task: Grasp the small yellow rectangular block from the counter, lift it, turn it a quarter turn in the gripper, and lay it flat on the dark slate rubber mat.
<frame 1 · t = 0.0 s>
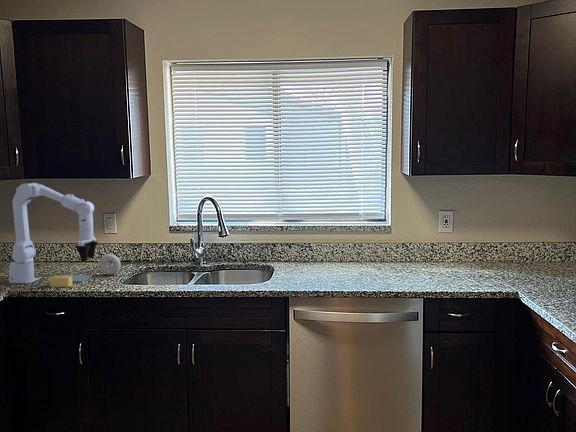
hand: (87, 259, 227), 10 cm above the counter, tool pointing down, fingers open, 7 cm apart
yellow rectangular block: (61, 286, 221), on the counter
mat: (71, 279, 232), on the counter
donut: (110, 275, 242), on the counter
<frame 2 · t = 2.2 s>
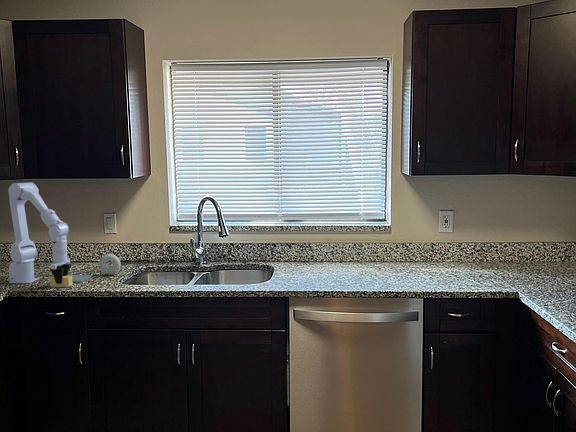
hand: (61, 282, 221), 1 cm above the counter, tool pointing down, fingers closed on yellow rectangular block, 4 cm apart
yellow rectangular block: (61, 285, 221), on the counter, touching gripper
everything else where it was.
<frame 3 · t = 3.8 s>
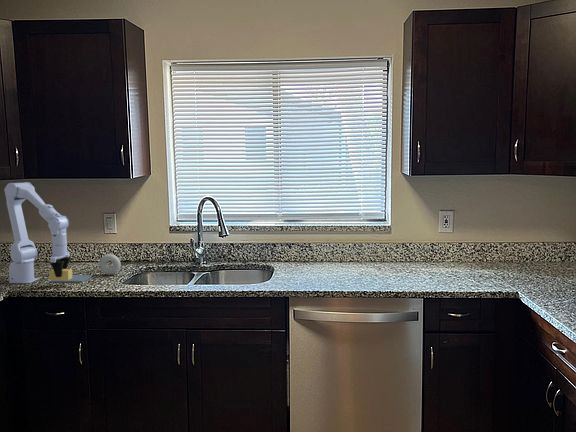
hand: (60, 275, 221), 4 cm above the counter, tool pointing down, fingers closed on yellow rectangular block, 4 cm apart
yellow rectangular block: (61, 279, 221), point 3 cm above the counter, touching gripper
everything else where it was.
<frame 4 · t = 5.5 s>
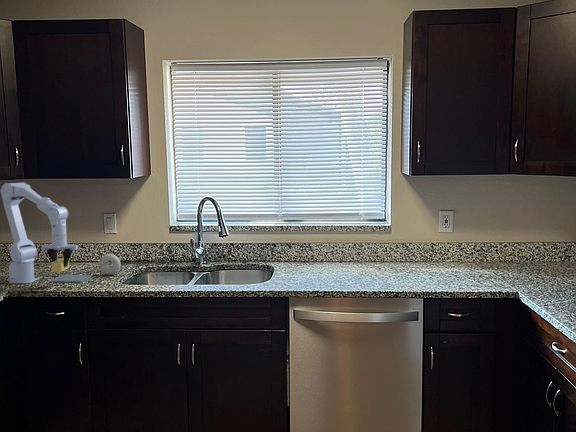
hand: (60, 266, 220), 8 cm above the counter, tool pointing down, fingers closed on yellow rectangular block, 4 cm apart
yellow rectangular block: (60, 269, 221), point 7 cm above the counter, touching gripper
everything else where it was.
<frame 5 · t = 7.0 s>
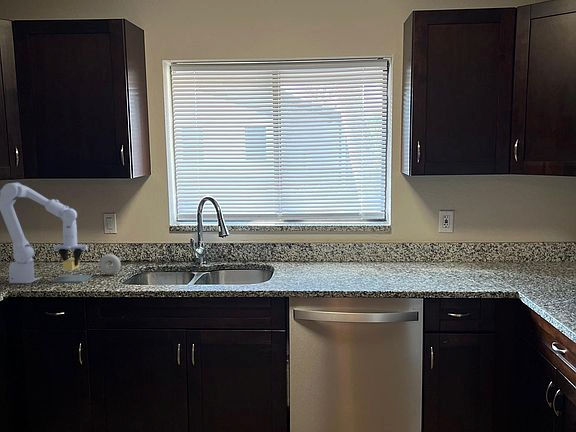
hand: (71, 265, 232), 7 cm above the counter, tool pointing down, fingers closed on yellow rectangular block, 4 cm apart
yellow rectangular block: (71, 268, 232), point 5 cm above the counter, touching gripper
everything else where it was.
when the fingers open (4 cm above the counter, at t = 8.4 s): yellow rectangular block drops 1 cm, resting on mat.
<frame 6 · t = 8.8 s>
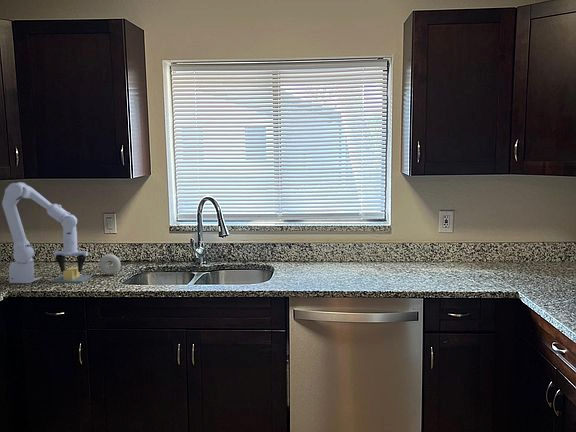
hand: (71, 271, 232), 4 cm above the counter, tool pointing down, fingers open, 7 cm apart
yellow rectangular block: (71, 277, 232), point 1 cm above the counter, touching mat
everything else where it was.
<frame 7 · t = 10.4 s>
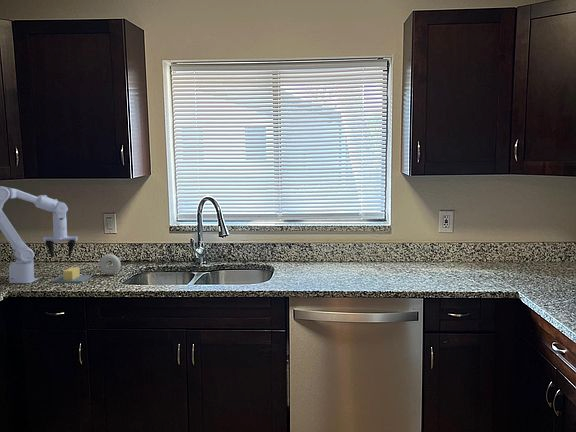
hand: (61, 256, 237), 9 cm above the counter, tool pointing down, fingers open, 7 cm apart
nothing on the counter moved.
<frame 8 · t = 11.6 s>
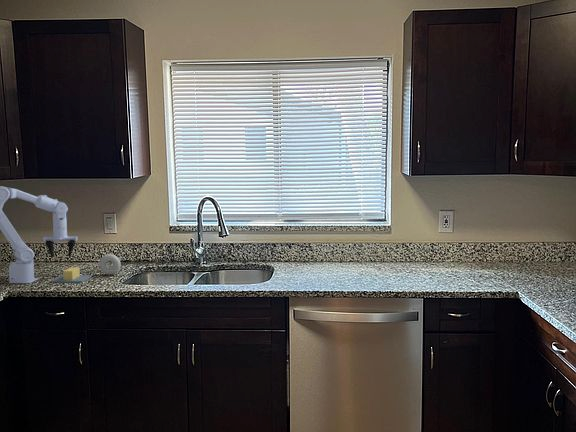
hand: (61, 256, 237), 9 cm above the counter, tool pointing down, fingers open, 7 cm apart
nothing on the counter moved.
at the end: yellow rectangular block inside the target area on the mat (0.0 cm from its centre), point 0.8 cm above the mat's base; yellow rectangular block tilted 0°; the gripper is holding nothing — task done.
